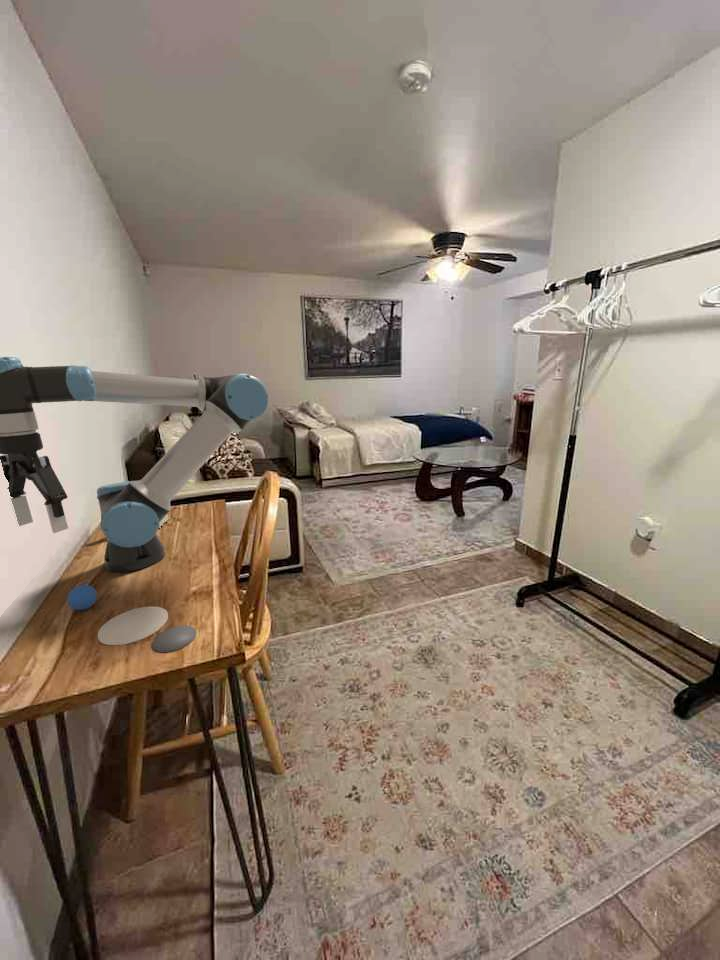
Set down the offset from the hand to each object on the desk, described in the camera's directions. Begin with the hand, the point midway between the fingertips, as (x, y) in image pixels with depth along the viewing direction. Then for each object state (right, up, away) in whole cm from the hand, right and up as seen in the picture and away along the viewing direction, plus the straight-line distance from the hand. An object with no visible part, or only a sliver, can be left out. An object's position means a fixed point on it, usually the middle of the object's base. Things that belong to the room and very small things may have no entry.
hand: (42, 527), depth 88 cm
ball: (+9, -16, 0) cm, 18 cm away
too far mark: (+35, -21, -11) cm, 42 cm away
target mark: (+24, -20, -6) cm, 32 cm away
